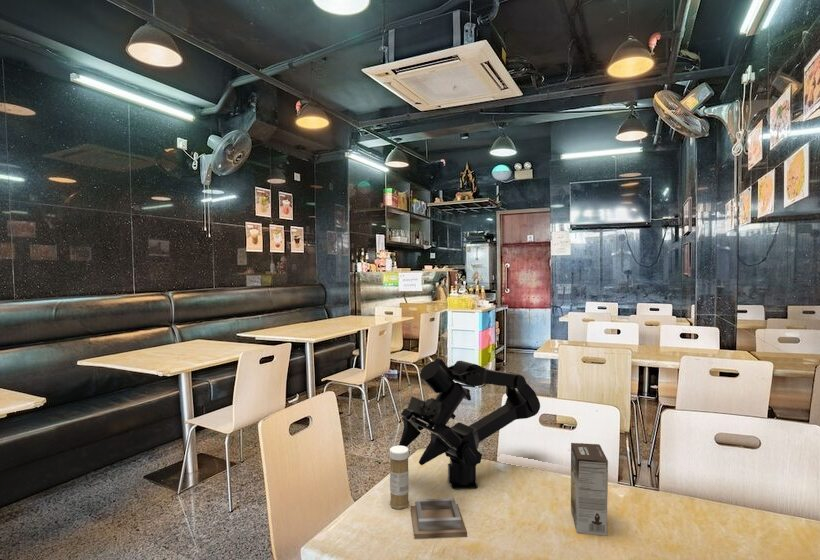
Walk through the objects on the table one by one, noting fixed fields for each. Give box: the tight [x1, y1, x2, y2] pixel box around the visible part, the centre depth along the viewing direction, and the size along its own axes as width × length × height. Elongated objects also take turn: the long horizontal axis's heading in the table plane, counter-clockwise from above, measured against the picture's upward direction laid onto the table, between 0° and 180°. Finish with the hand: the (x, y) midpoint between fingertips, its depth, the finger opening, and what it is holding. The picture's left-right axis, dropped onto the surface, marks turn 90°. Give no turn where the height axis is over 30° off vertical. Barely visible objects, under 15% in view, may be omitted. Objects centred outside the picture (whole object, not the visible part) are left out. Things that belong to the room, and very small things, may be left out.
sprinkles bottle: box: [389, 445, 410, 510], centre depth 104 cm, size 5×5×13 cm
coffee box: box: [570, 442, 609, 537], centre depth 97 cm, size 9×6×16 cm
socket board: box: [410, 497, 468, 540], centre depth 97 cm, size 11×11×3 cm
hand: (409, 457), depth 106 cm, fingers open, 9 cm apart
